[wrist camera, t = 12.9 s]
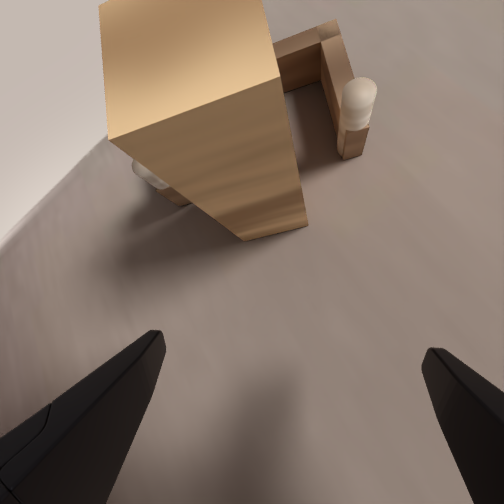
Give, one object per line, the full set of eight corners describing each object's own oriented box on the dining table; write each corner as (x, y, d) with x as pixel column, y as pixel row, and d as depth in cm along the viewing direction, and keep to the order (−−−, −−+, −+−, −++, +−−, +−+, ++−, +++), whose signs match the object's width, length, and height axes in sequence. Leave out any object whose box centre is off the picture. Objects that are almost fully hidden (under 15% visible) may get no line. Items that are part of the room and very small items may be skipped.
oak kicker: (308, 225, 18) (280, 76, 6) (244, 241, 19) (108, 139, 7) (294, 165, 19) (244, -68, 7) (233, 182, 20) (98, 5, 8)
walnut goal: (364, 153, 18) (380, 100, 13) (176, 207, 21) (133, 179, 16) (337, 59, 19) (341, -20, 15) (166, 120, 22) (123, 71, 17)
